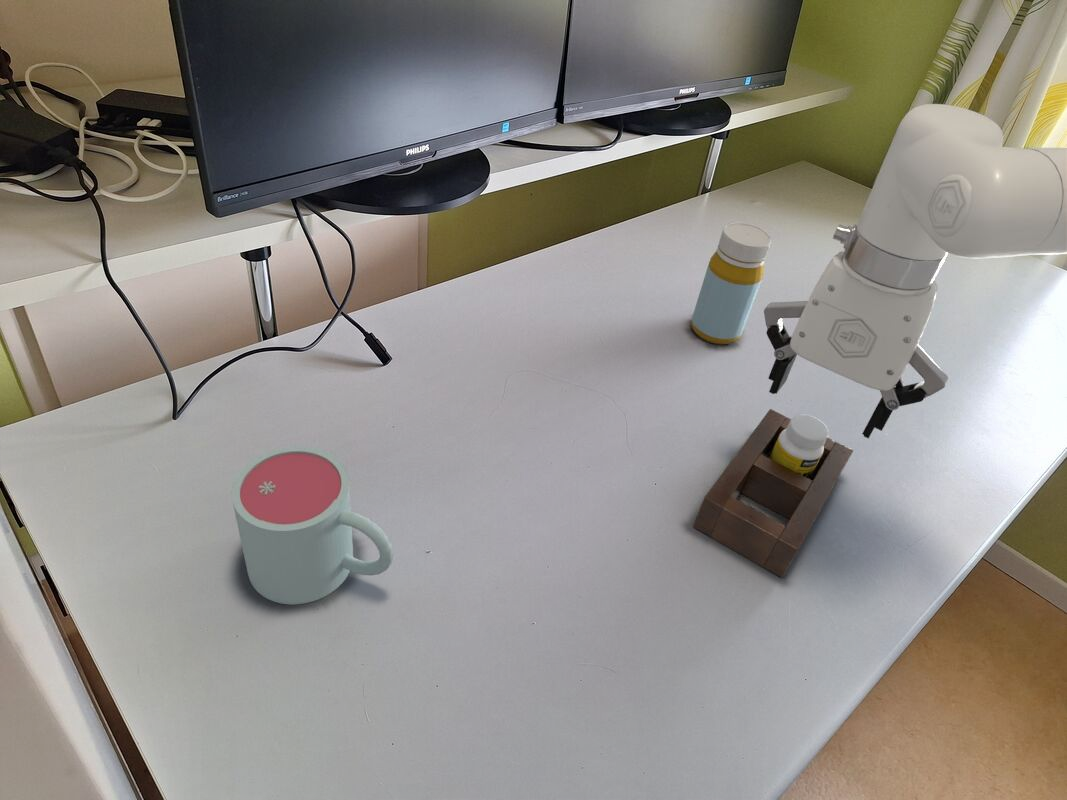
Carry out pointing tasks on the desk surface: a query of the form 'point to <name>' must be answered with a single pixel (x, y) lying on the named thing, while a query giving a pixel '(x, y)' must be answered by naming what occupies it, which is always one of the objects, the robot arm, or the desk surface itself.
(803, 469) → the supplement bottle
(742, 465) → the holder
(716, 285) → the bottle
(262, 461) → the mug
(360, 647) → the desk surface
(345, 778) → the desk surface
